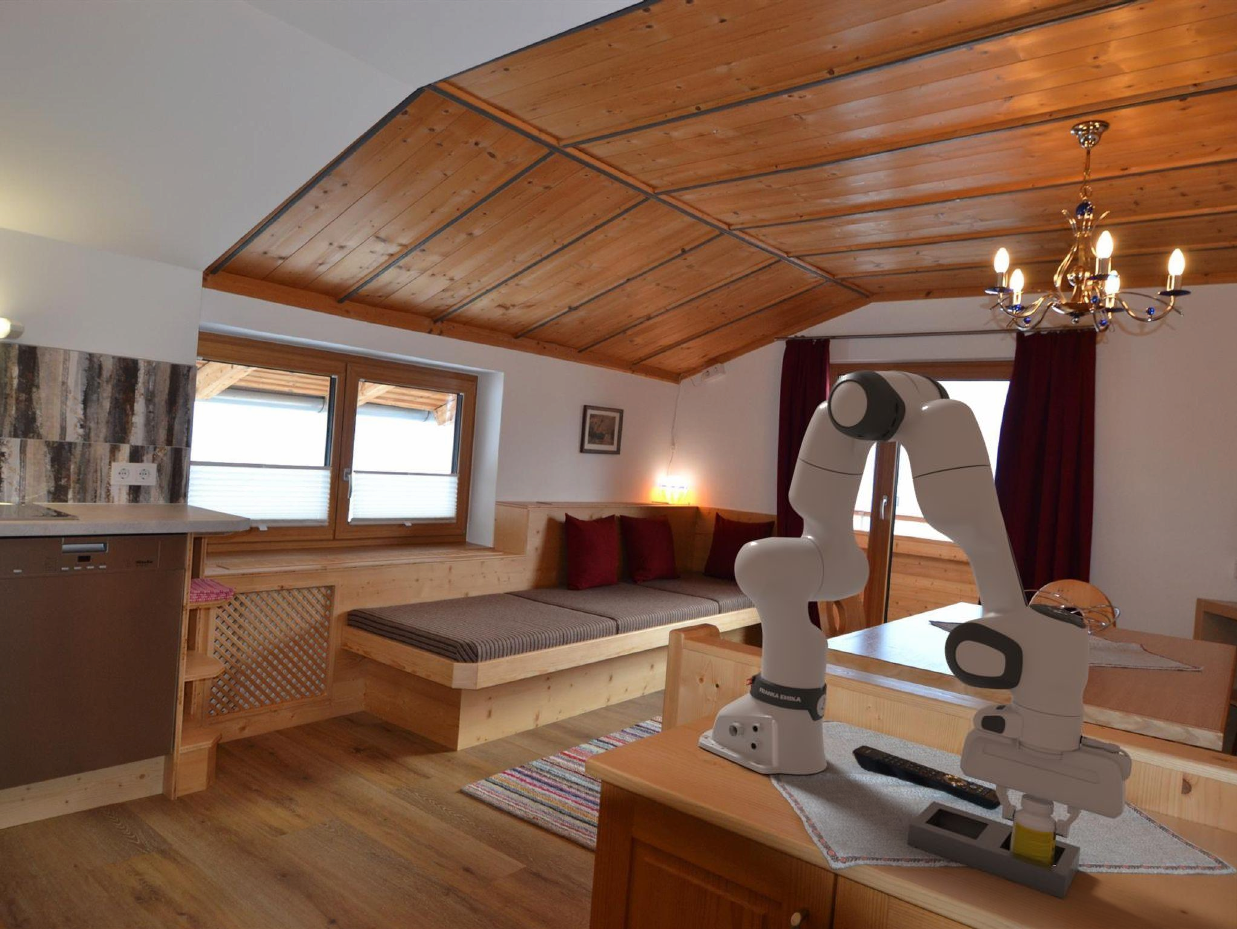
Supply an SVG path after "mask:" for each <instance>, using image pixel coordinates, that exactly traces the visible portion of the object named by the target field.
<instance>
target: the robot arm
mask: <svg viewBox="0 0 1237 929" xmlns="http://www.w3.org/2000/svg"><path fill="white" fill-rule="evenodd" d="M974 413H975V412H974V411H973V410H972V408H971V407H970V406H969V405H968V404H966V403H965V402H963V401H960V400H957V399H953V398H950V395H949V393H948V390H947V389H946V388H945V386H943V385H942V384H941V383H940V382H939V381H937V380H936V379H934V378H932V377H930V376H927V375H925V374H922V373H921V374H919V373H912V372H911V373H910V372H907V371H901V370H878V371H877V370H868V369H867V370H866V369H864V370H863V369H862V370H857V371H852V372H849V373H847V374H845V375H843V376H841V377H840V378H838V379H837V381H836V382H835V383H834V384H833V385H832V387H831V389H830V391H829V394H828V397H827V400H824V401H822V402H821V403H820V404H819V405H818V406H817V407H816V409H815V411H814V413H813V415H812V417H811V419H810V421H809V424H808V426H807V429H806V431H805V434H804V436H803V439H802V442H801V446H800V449H799V453H798V456H797V459H796V463H795V468H794V471H793V475H792V480H791V483H790V487H789V491H788V501H789V503H790V505H791V507H792V509H793V510H794V511H795V512H796V513H797V514H798V515H799V516H800V517H801V518H802V519H803V530H802V531H803V532H802V535H801V537H783V536H782V537H781V536H780V537H779V536H778V537H776V536H772V537H771V536H770V537H766V538H761V539H756V540H752V541H749V542H747V543H745V544H743V546H742V547H741V548H740V550H739V551H738V553H737V555H736V558H735V562H734V576H735V581H736V583H737V585H738V587H739V589H740V590H741V592H742V593H743V594H744V595H745V596H746V597H747V598H748V599H749V600H750V601H751V602H752V604H753V605H754V607H755V609H756V611H757V613H758V616H759V620H760V623H761V629H762V631H761V632H762V647H761V650H762V652H761V666H760V667H761V668H760V670H759V671H758V673H757V674H753V675H751V677H750V678H747V679H746V681H747V682H746V683H745V686H750V689H749V692H747V693H746V694H744V695H742V696H740V697H738V698H736V699H735V700H733V701H731V702H730V703H728V704H726V705H725V706H724V707H722V708H721V709H720V710H719V711H718V713H717V715H716V716H715V719H714V723H713V727H712V728H711V729H709V730H707V731H705V732H703V733H702V734H701V735H700V737H699V740H698V746H699V747H700V748H702V749H704V750H707V751H710V752H711V753H714V754H716V755H718V756H720V757H723V758H725V759H726V760H727V759H728V760H730V761H732V762H734V763H736V764H738V765H741V766H743V767H745V768H748V769H751V770H753V771H755V772H757V773H760V774H767V775H771V774H789V775H810V774H818V773H820V772H822V771H824V770H825V769H826V768H827V767H828V762H827V759H826V752H825V744H824V743H825V742H824V727H823V726H824V725H823V722H824V721H823V719H824V717H825V713H826V709H827V708H826V707H827V697H828V696H827V690H828V688H827V687H828V685H827V683H826V675H827V674H826V673H827V665H828V664H827V662H828V652H829V651H828V649H829V642H828V638H827V637H826V635H825V633H824V632H823V631H822V630H821V629H820V628H818V627H817V626H816V625H814V624H813V623H812V621H811V619H810V615H809V608H808V607H809V602H834V601H835V602H836V601H840V600H843V599H847V598H850V597H854V596H857V595H858V594H860V593H861V592H863V590H864V589H865V587H866V585H867V583H868V580H869V577H870V564H869V560H868V558H867V555H866V554H865V552H864V550H863V549H862V548H861V547H860V546H859V544H858V542H857V540H856V536H855V530H854V529H855V528H854V514H855V510H856V509H855V508H856V504H857V499H858V495H859V491H860V488H861V483H862V479H863V476H864V472H865V469H866V463H867V461H868V456H869V454H870V451H871V450H872V448H873V446H874V445H875V444H876V443H877V442H882V443H883V442H885V443H890V442H891V443H892V442H896V443H897V444H899V445H901V447H902V448H903V449H904V450H905V452H906V455H907V457H908V461H909V466H910V471H911V472H910V473H911V478H912V484H913V489H914V495H915V498H916V503H917V504H918V507H919V510H920V512H921V515H922V517H923V519H924V521H925V522H926V523H927V525H929V526H930V527H931V528H933V530H935V531H936V532H938V533H940V534H942V535H943V536H945V537H947V538H948V539H949V540H951V541H952V542H953V543H955V545H957V546H958V548H960V549H961V550H962V552H963V553H964V555H965V556H966V558H967V559H968V560H967V561H968V563H969V564H970V568H971V571H972V575H973V578H974V581H975V582H974V583H975V585H976V589H977V590H976V591H977V594H978V596H979V601H980V604H981V609H982V615H981V617H980V618H976V619H971V620H967V621H965V622H962V623H960V624H958V625H956V626H955V627H954V628H953V629H951V630H950V632H949V634H948V635H947V637H946V640H945V643H944V656H945V661H946V663H947V664H946V665H947V667H948V669H949V670H950V672H951V674H953V676H954V677H955V678H956V679H957V680H959V681H960V682H961V683H962V684H964V685H966V686H970V687H973V688H977V689H987V690H1005V691H1009V692H1010V693H1011V703H1002V704H1001V703H1000V704H999V703H998V704H988V705H985V706H982V707H980V709H978V710H977V711H976V712H975V713H974V715H973V719H972V720H973V721H972V724H973V726H974V727H973V728H972V729H970V731H968V733H967V734H966V736H965V739H964V742H963V746H962V751H961V754H960V761H959V768H960V770H961V772H962V773H963V775H964V776H965V777H969V778H972V779H976V780H979V781H982V782H986V783H989V784H993V785H995V794H996V796H997V798H998V801H999V803H1000V805H1001V807H1002V809H1001V810H1002V811H1001V819H1004V820H1007V821H1011V822H1013V819H1014V813H1015V812H1016V811H1017V810H1018V809H1017V808H1018V807H1017V805H1015V804H1012V803H1011V801H1010V798H1009V796H1008V792H1010V790H1014V791H1017V792H1019V793H1022V794H1023V793H1024V794H1030V795H1033V796H1037V797H1040V798H1043V799H1047V800H1050V801H1053V802H1055V803H1057V804H1061V805H1064V806H1067V807H1066V808H1067V810H1066V813H1067V814H1069V815H1068V817H1066V819H1062V818H1058V819H1057V820H1056V831H1055V835H1056V836H1057V837H1061V838H1064V839H1068V838H1069V837H1070V836H1069V835H1070V831H1071V825H1072V824H1073V823H1074V822H1075V821H1076V820H1077V819H1078V818H1079V817H1080V815H1081V813H1082V811H1084V812H1088V813H1091V814H1095V815H1098V816H1101V817H1105V818H1109V819H1113V820H1115V819H1118V818H1119V817H1120V816H1122V814H1123V813H1124V812H1125V809H1126V781H1127V780H1128V779H1129V778H1130V776H1131V774H1132V765H1133V761H1132V760H1133V759H1132V757H1131V756H1130V755H1129V753H1128V752H1127V751H1126V750H1124V749H1122V748H1121V746H1120V745H1118V744H1116V743H1112V742H1104V741H1101V740H1098V739H1096V738H1091V737H1088V736H1085V735H1084V736H1083V726H1084V717H1085V706H1084V702H1083V696H1084V690H1085V688H1086V686H1087V684H1088V679H1089V670H1090V654H1091V653H1090V650H1091V649H1090V634H1089V629H1088V627H1087V625H1086V622H1084V621H1083V619H1082V618H1080V617H1079V616H1078V615H1077V614H1075V613H1073V612H1071V611H1069V610H1066V609H1064V608H1061V607H1057V606H1054V605H1049V604H1045V603H1031V604H1029V602H1028V600H1027V596H1026V592H1025V590H1024V586H1023V582H1022V579H1021V576H1020V571H1019V568H1018V564H1017V561H1016V557H1015V554H1014V550H1013V547H1012V543H1011V540H1010V537H1009V534H1008V531H1007V529H1006V525H1005V521H1004V517H1003V514H1002V511H1001V507H1000V502H999V497H998V494H997V489H996V484H995V480H994V474H993V469H992V465H991V460H990V455H989V452H988V448H987V444H986V442H985V441H986V440H985V438H984V436H983V432H982V430H981V426H980V425H979V422H978V420H977V418H976V415H975V414H974Z"/></svg>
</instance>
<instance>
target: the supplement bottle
mask: <svg viewBox="0 0 1237 929" xmlns="http://www.w3.org/2000/svg"><path fill="white" fill-rule="evenodd" d="M1020 807H1021V808H1019V809H1016V812H1015V813H1014V819H1013V821H1012V826H1013V828H1012V836H1011V845H1010V851H1011V852H1014V853H1017V854H1020V855H1023V856H1026V857H1029V858H1032V859H1035V860H1038V861H1041V862H1044V863H1047V864H1050V865H1053V860H1054V851H1055V843H1056V840H1057V835H1055V831H1056V822H1057V820H1056V819H1055V818H1054V817H1053V816H1052V815H1053V814H1054V808H1055V804H1054V801H1050V800H1047V799H1043V798H1040V797H1037V796H1033V795H1030V794H1026V793H1024V794H1023V793H1022V795H1021V801H1020Z"/></svg>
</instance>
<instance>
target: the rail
mask: <svg viewBox="0 0 1237 929" xmlns="http://www.w3.org/2000/svg"><path fill="white" fill-rule="evenodd" d="M1012 828H1013V825H1010V824H1007V823H1005V822H1001V821H998V820H995V819H991V818H988V817H985V816H983V815H979V814H976V813H972V812H969V811H966V810H964V809H963V810H962V809H959V808H956V807H954V806H950V805H946V804H943V803H940V802H937V801H934V800H933V801H932V802H931V803H930V804H929V805H927V807H926V808H924V809H923V810H922V811H921V812H920V813H919V814H918V815H917V816H916V817H915V818H914V819H913V820H911V822H910V823H909V827H908V835H907V836H908V838H907V846H910V847H914V848H917V849H920V850H922V851H925V852H927V853H930V852H931V853H930V854H933V853H934V855H937V856H939V857H942V856H943V857H942V858H945V859H947V858H948V860H950V859H951V861H954V862H957V863H959V864H962V865H965V866H968V867H970V868H974V869H977V870H979V871H982V872H985V873H987V874H990V875H994V876H996V877H998V878H999V877H1000V878H1002V879H1005V880H1008V881H1011V882H1013V883H1017V884H1019V885H1022V886H1025V887H1028V888H1030V889H1034V890H1037V891H1039V892H1042V893H1045V894H1047V895H1051V896H1054V897H1056V898H1059V899H1062V900H1064V899H1065V897H1066V895H1067V892H1068V890H1069V888H1070V886H1071V885H1072V882H1073V880H1074V878H1075V877H1076V873H1077V872H1078V870H1079V863H1080V855H1081V847H1080V846H1077V845H1073V844H1070V843H1067V842H1064V841H1061V840H1058V839H1056V843H1055V851H1054V860H1053V865H1056V866H1053V865H1050V864H1047V863H1044V862H1041V861H1038V860H1035V859H1032V858H1029V857H1026V856H1023V855H1020V854H1017V853H1014V852H1011V851H1010V845H1011V836H1012Z"/></svg>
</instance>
